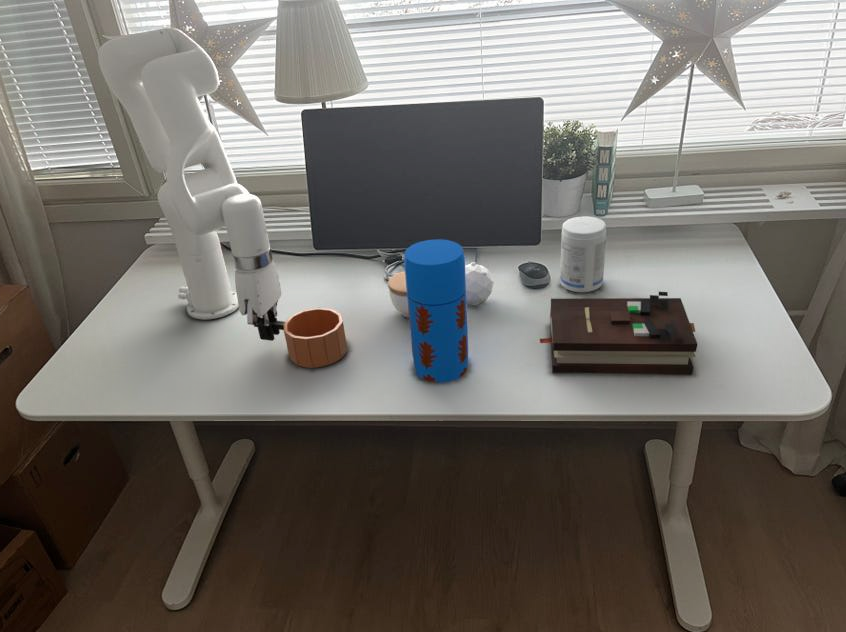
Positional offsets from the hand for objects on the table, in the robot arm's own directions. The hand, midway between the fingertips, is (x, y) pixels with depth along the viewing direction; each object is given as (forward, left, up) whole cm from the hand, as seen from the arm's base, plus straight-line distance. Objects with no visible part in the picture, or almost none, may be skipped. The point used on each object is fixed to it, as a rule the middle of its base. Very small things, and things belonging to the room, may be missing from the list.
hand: (270, 336), depth 151 cm
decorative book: (+70, +13, -3) cm, 71 cm away
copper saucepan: (+7, 0, -2) cm, 7 cm away
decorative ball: (+38, +28, -3) cm, 47 cm away
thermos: (+38, 0, -3) cm, 38 cm away
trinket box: (+26, +20, -3) cm, 33 cm away
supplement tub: (+60, +39, -3) cm, 71 cm away
